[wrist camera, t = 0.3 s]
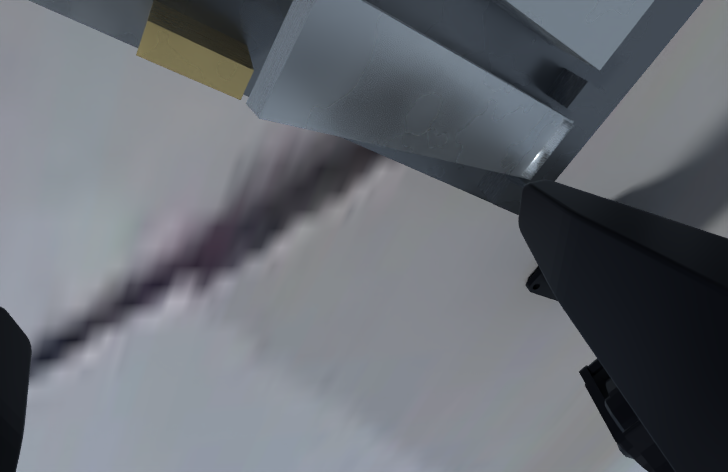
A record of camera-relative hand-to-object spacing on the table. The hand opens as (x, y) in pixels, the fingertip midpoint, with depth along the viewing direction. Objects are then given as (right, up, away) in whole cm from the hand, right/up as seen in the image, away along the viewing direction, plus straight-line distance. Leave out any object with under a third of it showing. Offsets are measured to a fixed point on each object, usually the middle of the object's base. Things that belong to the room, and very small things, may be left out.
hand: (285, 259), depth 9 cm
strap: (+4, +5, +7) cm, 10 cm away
